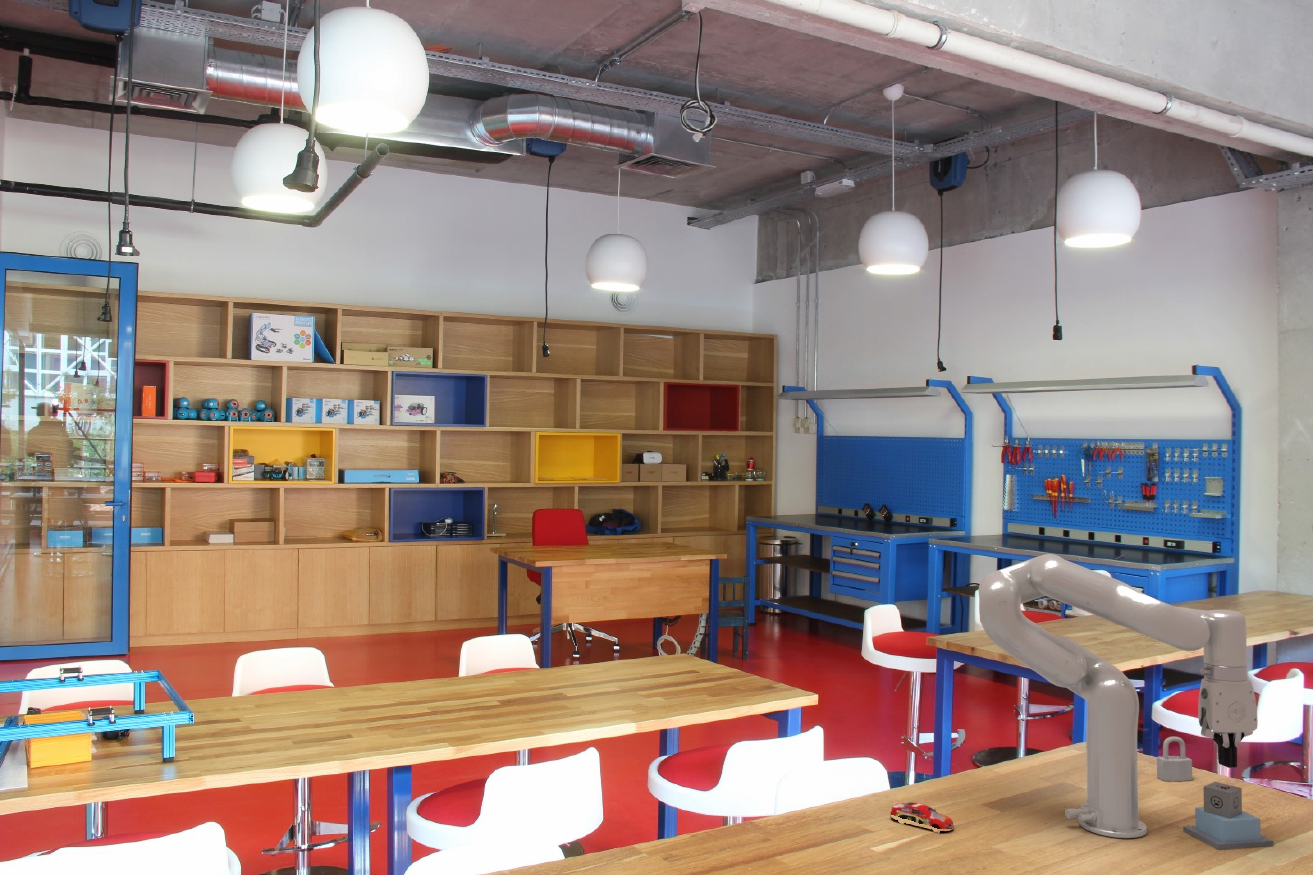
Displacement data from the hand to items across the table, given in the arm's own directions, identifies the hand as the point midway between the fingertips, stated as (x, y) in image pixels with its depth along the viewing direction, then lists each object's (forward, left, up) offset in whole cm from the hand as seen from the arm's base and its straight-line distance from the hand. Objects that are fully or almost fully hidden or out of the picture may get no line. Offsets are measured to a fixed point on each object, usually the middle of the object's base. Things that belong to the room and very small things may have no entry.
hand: (1227, 765), depth 201 cm
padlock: (+15, +36, -15) cm, 42 cm away
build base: (0, 0, -14) cm, 14 cm away
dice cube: (-1, +1, -10) cm, 10 cm away
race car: (-57, +17, -15) cm, 61 cm away
